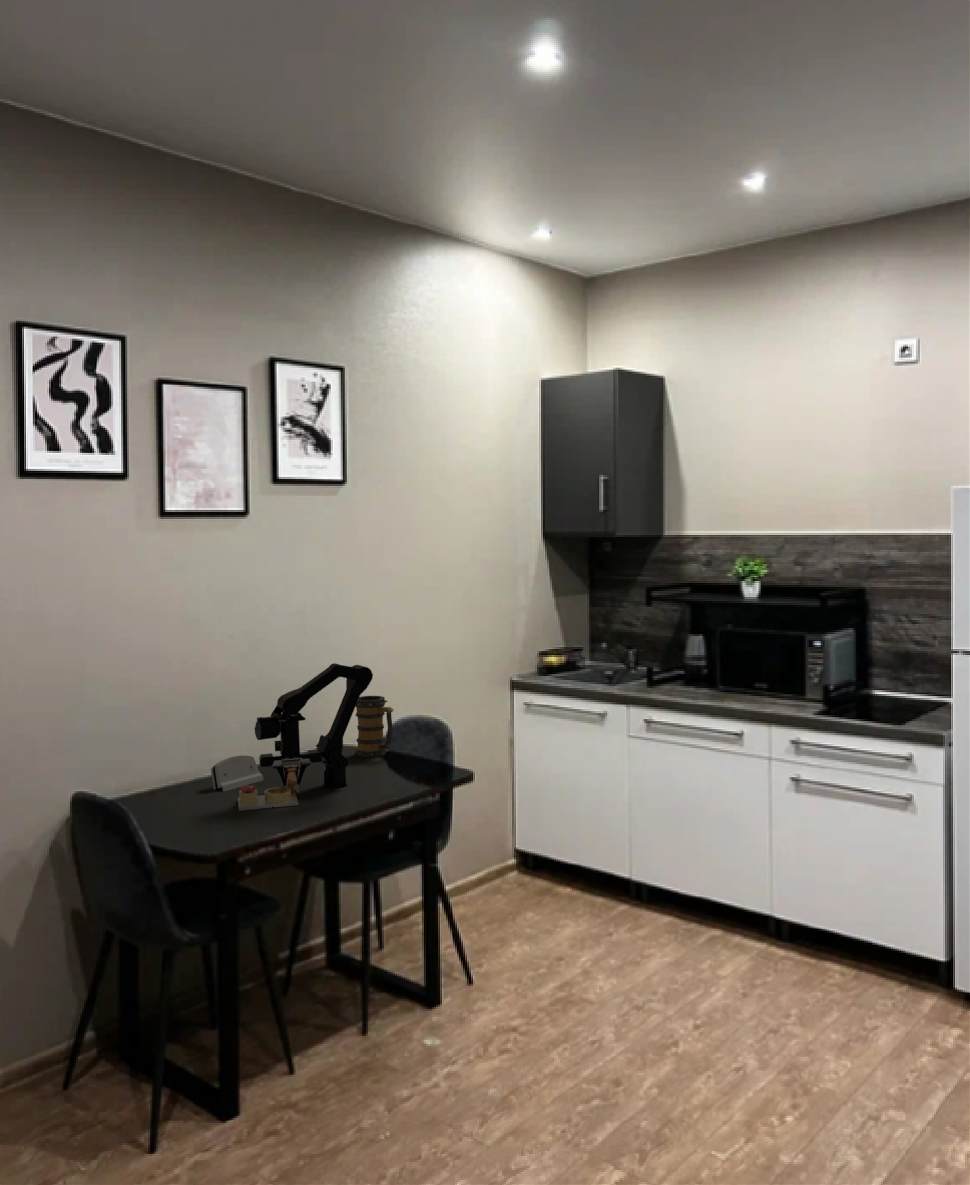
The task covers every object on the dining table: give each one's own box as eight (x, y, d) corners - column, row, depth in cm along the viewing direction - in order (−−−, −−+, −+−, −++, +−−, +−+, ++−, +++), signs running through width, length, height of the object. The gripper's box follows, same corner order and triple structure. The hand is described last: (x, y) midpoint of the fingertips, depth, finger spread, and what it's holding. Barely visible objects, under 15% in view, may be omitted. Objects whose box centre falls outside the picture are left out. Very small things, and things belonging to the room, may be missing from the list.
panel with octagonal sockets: (294, 795, 315) (294, 778, 315) (298, 805, 304) (297, 787, 304) (237, 800, 310) (237, 783, 310) (239, 810, 300) (238, 792, 300)
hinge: (223, 791, 321) (215, 760, 323) (214, 794, 324) (206, 763, 326) (264, 779, 335) (256, 750, 336) (255, 782, 338) (248, 753, 339)
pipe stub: (298, 789, 322) (297, 764, 321) (300, 793, 318) (299, 767, 317) (283, 790, 321) (282, 765, 320) (285, 794, 316) (284, 768, 316)
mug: (370, 747, 378) (368, 693, 376) (406, 753, 367) (404, 698, 366) (345, 755, 367) (343, 699, 366) (381, 761, 357) (380, 703, 356)
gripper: (317, 728, 328) (319, 776, 329) (257, 732, 323) (259, 781, 324) (321, 735, 317) (323, 785, 319) (259, 740, 312) (261, 790, 314)
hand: (291, 785), depth 319 cm, fingers closed on pipe stub, 4 cm apart
